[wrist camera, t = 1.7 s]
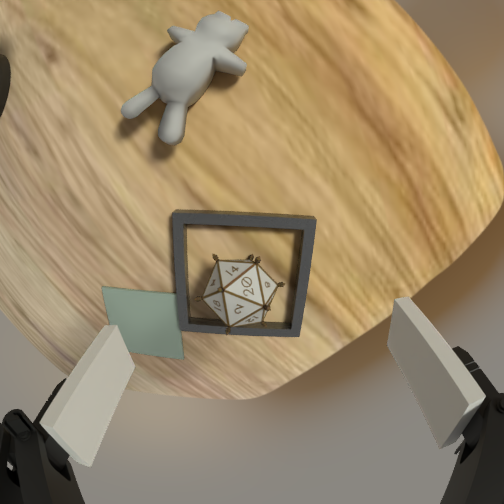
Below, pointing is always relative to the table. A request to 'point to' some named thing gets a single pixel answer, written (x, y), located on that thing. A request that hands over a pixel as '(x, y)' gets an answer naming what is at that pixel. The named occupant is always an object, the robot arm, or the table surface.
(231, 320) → the game die
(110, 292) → the pad
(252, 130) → the table surface
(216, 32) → the grey teddy bear
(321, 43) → the table surface
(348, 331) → the table surface
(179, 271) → the socket frame
